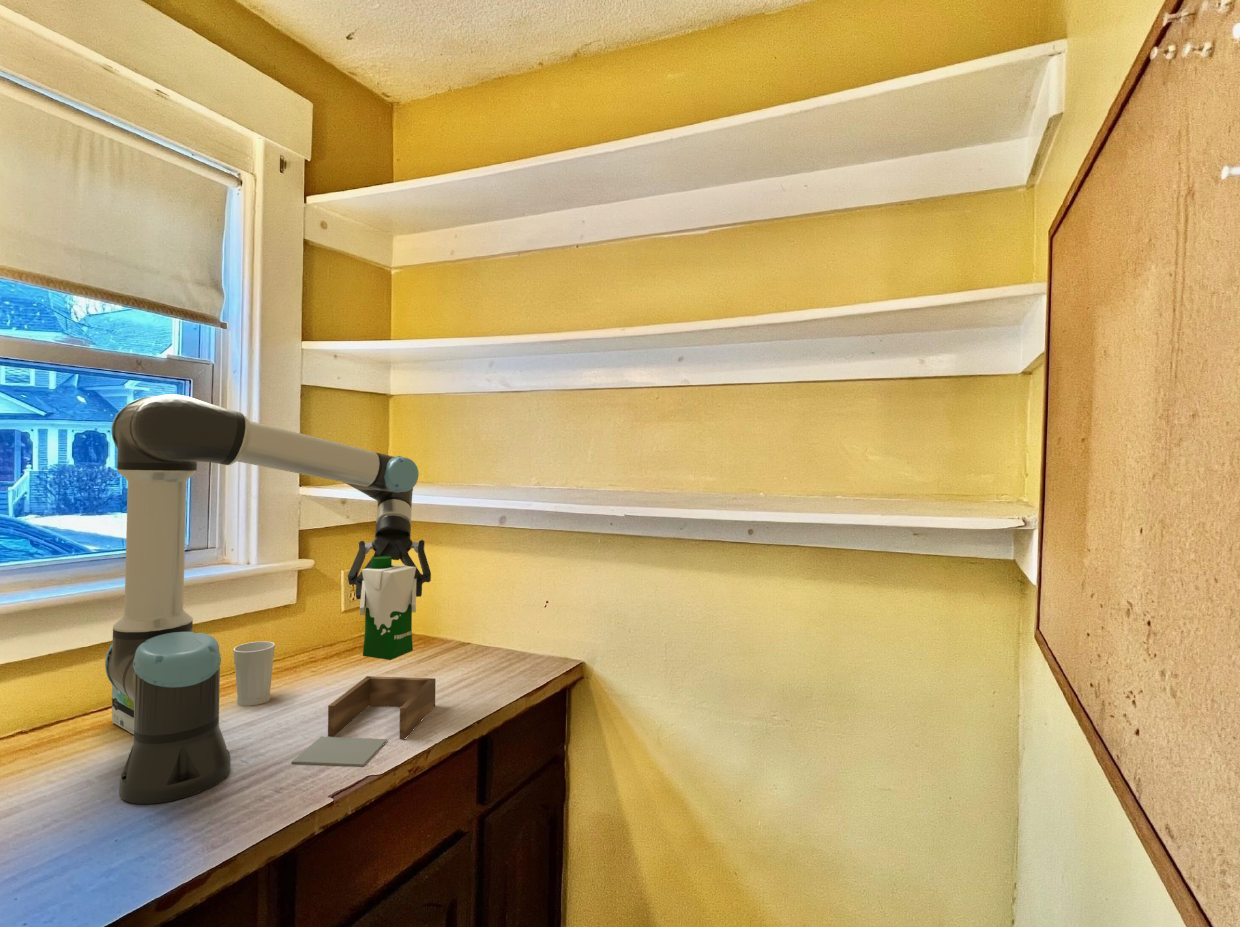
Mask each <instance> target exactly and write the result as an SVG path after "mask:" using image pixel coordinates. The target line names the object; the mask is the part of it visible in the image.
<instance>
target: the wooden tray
mask: <svg viewBox="0 0 1240 927" xmlns="http://www.w3.org/2000/svg"><path fill="white" fill-rule="evenodd" d="M371 705H373V706H374V707H393V708H394V707H397V708H398V707H399V740H405V739H404V738H406V737H407V736H408V735H409V734H410V733H411V732H412V731H413V732H414V730H415V729H416V728H417V727H418V726H419V725H420V724H421V723H422V721H423V720H424V719H425V718H426V717H427V716H428V715H429V713H431V711H432V710H433V709H434V708H435V707H434V706H436V678H427V677H405V676H404V677H403V676H401V677H400V676H398V677H397V676H395V677H394V676H372V675H371V676H369V675H367V676H364V678H363V679H362V680H360V681H359V682H357V683H356V684H355V685H353V686H352V687H351V688H349V689H348V690H347V691H346V692H344V693H343V694H341V696H339V697H338V698H336V699H335V700H334V701H332V702H331V703H330V704H328V705H327V708H328V709H327V737H336V735H338V734H339V733H340V732H341V731H342V730H343V729H344V728H345V727H347V726H348V725H349V724H350V723H351V722H352V721H354V720H355V719H356V718H357V717H358V716H360V714H362V713H363V712H365V710H366V709H367V708H369V707H370V706H371ZM371 707H372V706H371ZM433 707H434V708H433ZM431 709H432V710H431ZM430 710H431V711H430ZM361 712H362V713H361ZM427 714H428V715H427ZM426 715H427V716H426ZM425 716H426V717H425ZM424 717H425V718H424ZM354 718H355V719H354ZM423 718H424V719H423ZM353 719H354V720H353ZM422 719H423V720H422ZM421 720H422V721H421ZM419 723H420V724H419ZM418 724H419V725H418ZM417 725H418V726H417ZM416 726H417V727H416ZM415 727H416V728H415ZM414 728H415V729H414ZM413 729H414V730H413ZM413 732H412V733H413ZM337 733H338V734H337ZM412 733H411V734H412ZM411 734H410V735H411ZM410 735H409V736H410ZM409 736H408V737H409ZM408 737H407V738H408ZM407 738H406V739H407Z"/></svg>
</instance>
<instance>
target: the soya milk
mask: <svg viewBox="0 0 1240 927" xmlns="http://www.w3.org/2000/svg"><path fill="white" fill-rule="evenodd" d="M370 560H371V567H369V568H366V569H364V568H361V572H362V574H363V579H364V584H365V590H366V598H365V615H364V637H363V647H362V648H363V649H362V650H363V651H362V656H363V657H367V658H373V659H381V660H386V661H391V660H392V661H393V660H394V659H397V658H399V657H402V656H404V655H406V654H408V653H411V652H413V651H414V650H413V647H414V646H413V645H414V644H413V632H412V630H413V628H412V627H413V624H412V621H413V618H412V617H413V612H412V587H413V581H414V576H415V571H416V567H417V566H416V567H410V566H407V565H404V564H402V565H401V564H392V561H393V560H392V557H390V556H376V557H373V556H372V557H371V558H370Z"/></svg>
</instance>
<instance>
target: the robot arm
mask: <svg viewBox="0 0 1240 927" xmlns="http://www.w3.org/2000/svg"><path fill="white" fill-rule="evenodd" d="M110 433H111V437H112V440H113V444H114V445H115V447H116V448H117V456H116V458H117V459H116V460H117V461H116V462H117V463H116V470H117V472H118V474H120V475H121V476H123V477H124V478H125V480H126V481H127V497H126V499H127V501H126V502H127V503H126V504H127V506H126V534H125V535H126V537H125V541H126V542H125V575H124V576H125V578H124V579H125V581H124V582H125V583H124V613H123V616H122V617H121V618H120V619H119V620H118V621H117V622H115V623H114V624H113V626H112V642H111V645H109V646H110V647H109V648H108V650H107V653H106V656H105V659H104V667H105V672H106V677H107V678H108V680H109V682H110V684H111V685H112V684H113V686H114V687H115V688H116V689H117V690H119V691H121V692H122V693H124V694H125V695H126V696H127V697H128V698H129V699H131V700H132V701H133V702H134V734H133V744H132V746H131V749H130V752H129V753H128V757H127V760H126V761H125V765H124V768H123V770H122V773H121V775H120V777H119V797H120V798H121V800H123V801H125V802H128V803H131V804H136V805H137V804H139V805H151V804H159V803H167V802H172V801H177V800H180V799H184V798H188V797H190V796H194V795H196V794H199V793H201V792H204V791H206V790H208V789H210V788H212V787H214V786H216V785H218V784H219V783H220V782H221V781H223V780H224V779H225V778H227V776H228V775H229V773H230V772H231V760H232V759H231V753H230V752H229V750H228V747H227V745H226V742H225V738H224V736H223V733H222V730H221V728H220V688H221V687H220V686H221V685H220V680H221V679H220V678H221V676H220V675H221V669H220V668H221V663H222V657H221V655H222V654H221V652H220V645H219V641H217V640H216V638H215V637H213V635H211V634H207V633H204V632H197V633H196V632H194V631H193V629H194V628H193V624H194V623H193V622H194V621H193V620H194V619H193V616H192V615H190V614H189V613H188V612H187V611H186V610H184V593H185V592H184V591H185V590H184V588H185V583H184V582H185V559H186V558H185V554H186V553H185V552H186V551H185V550H186V519H187V518H186V517H187V516H186V512H187V482H188V480H189V479H190V478H192V476H193V475H195V474H196V473H197V469H198V462H200V463H202V462H203V463H212V464H213V463H214V464H219V465H223V466H232V465H233V464H235V463H236V462H238V463H244V464H248V465H254V466H260V467H264V468H268V469H274V470H278V471H279V470H280V471H285V472H290V473H294V474H299V475H305V476H309V477H310V476H312V477H315V478H321V479H325V480H331V481H336V482H340V483H343V484H346V485H348V486H350V487H352V488H354V489H355V490H356V491H359V492H361V493H363V494H364V495H366V496H368V497H370V498H371V499H373V500H375V501H377V507H376V508H377V509H376V520H375V521H376V524H375V531H374V532H375V534H374V539H373V540H372V542H365V541H364V540H360V541H359V542H358V552H357V554H356V556H355V558H354V560H353V563H352V565H351V567H350V569H349V571H348V575H347V581H348V585H350V586H353V585H355V593H354V594H355V598H356V600H359V613H360V616H365V598H366V590H365V584H364V579H363V574H362V571H361V570H362V567H363V563H364V561H365V560H366V555H367V554H369V552H370V550H373V551H374V553H373V555H372V557H376V556H390V557H392V561H393V560H394V561H400V562H401V564H402V565H407V566H410V567H416V571H415V576H414V581H413V587H412V613H416V610H417V597H419V598H420V597H422V595H423V585H424V583H430V582H431V580H432V573H431V569H430V566H429V562H428V559H427V555H426V552H425V540H423V539H421V540H419V541H418V542H416V541H412V539H411V533H412V530H411V528H412V506H413V505H412V504H413V491H414V487H415V486H417V483H418V480H419V474H420V473H419V468H418V466H417V464H416V463H415V462H414V461H413V460H412V459H411V458H409V457H404V456H401V455H397V456H394V455H393V456H392V455H388V454H385V453H380V452H376V451H373V450H368V449H365V448H360V447H357V446H352V445H349V444H345V443H341V442H340V443H339V442H337V441H336V442H335V441H333V440H332V441H331V440H328V439H324V438H321V437H316V436H313V435H307V434H304V433H299V432H296V431H292V430H288V429H285V428H284V429H283V428H280V427H275V426H271V425H268V424H263V423H260V422H256V421H251V420H249V419H248V418H247V416H246V415H245V413H243V412H239V411H236V410H231V409H229V408H226V407H222V406H219V405H216V404H214V403H213V404H212V403H209V402H206V401H203V400H200V399H197V398H194V397H191V396H188V395H187V396H186V395H181V394H175V393H174V394H173V393H172V394H171V393H169V394H162V395H156V396H155V395H154V396H146V397H145V396H144V397H139V398H137V399H135V400H132V401H131V402H129V403H127V404H126V405H125V406H124V407H122V408H121V409H120V410H118V412H117V413H116V414H115V416H114V418H113V421H112V423H111V432H110ZM412 549H414V552H415V553H416V554H417V557H418V560H419V561H418V562H419V565H420V568H421V570H422V571H421V572H422V573H421V572H420V570H419V568H418V566H417V565H416V564H415V562H414V561H413V559H412V557H411V556H410V555H409V552H410V550H412ZM369 567H371V559H370V560H369V561H368V563H366V565H365V566H364V568H363V569H366V568H369ZM360 571H361V572H360Z"/></svg>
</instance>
